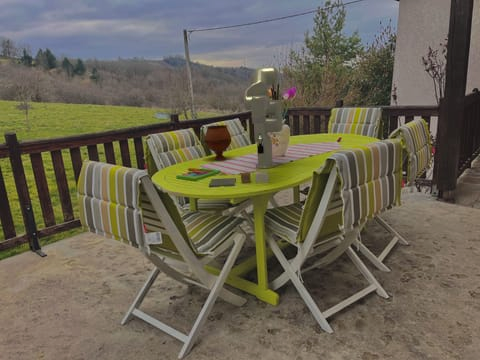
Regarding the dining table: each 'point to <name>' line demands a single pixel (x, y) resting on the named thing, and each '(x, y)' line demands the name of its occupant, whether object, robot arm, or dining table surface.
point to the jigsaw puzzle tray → (198, 174)
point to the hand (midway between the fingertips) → (260, 151)
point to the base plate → (222, 182)
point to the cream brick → (262, 177)
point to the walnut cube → (245, 177)
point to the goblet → (218, 140)
